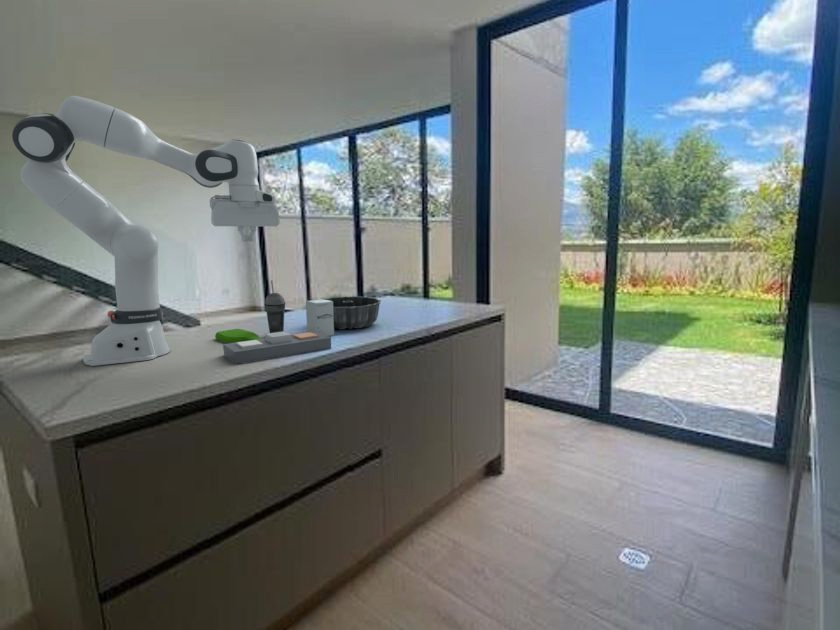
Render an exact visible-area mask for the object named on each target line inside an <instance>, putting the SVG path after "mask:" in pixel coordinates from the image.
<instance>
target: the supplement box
mask: <svg viewBox="0 0 840 630" xmlns="http://www.w3.org/2000/svg"><path fill="white" fill-rule="evenodd" d="M322 299H323V300H322ZM322 299H314V300H306V301H305V311H306V312H305V314H306V333H307V332H314V331H315V332H317V333H320V334H323V335H325V336H328V337H330V336H335V329H334V317H333V301H329V300H324V299H325V298H322Z"/></svg>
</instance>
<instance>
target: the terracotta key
mask: <svg viewBox="0 0 840 630" xmlns="http://www.w3.org/2000/svg"><path fill="white" fill-rule="evenodd" d="M300 333H301V332H300ZM300 333H293V334H294V335H293V334H292V335H293V337H294V338H296V339H299V340H304V339H311V338H318V335H316V334H314V333H311V332H308V333H307V332H302V333H301V334H300Z"/></svg>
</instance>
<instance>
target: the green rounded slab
mask: <svg viewBox="0 0 840 630" xmlns="http://www.w3.org/2000/svg"><path fill="white" fill-rule="evenodd" d="M214 338H215V340H216V341H218V342H220V343H222V344H228V343H235V342H243V341H250V340H257V339H262V338H261V337H260V336H259V335H258V334H257V333H255V332H253V331H249V330H247V329H242V328H234V329H228V330H221V331H220V330H219V331H217V332H216V333H215V337H214Z"/></svg>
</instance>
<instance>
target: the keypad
mask: <svg viewBox="0 0 840 630" xmlns="http://www.w3.org/2000/svg"><path fill="white" fill-rule="evenodd" d="M306 333H308V332H307V331H306ZM311 333H314V334H316V335H318V338H311V339H304V340H299V339H296V338H294V337H293V335H294V334H295V333H292V334H291V339H292V341H291V342H284V343H277V344H271V343H269V342H267V341H266V337H265V338H261V339H257V341H259V342H261V343H263V346H257V347H251V348H244V349H241V348H240V347H238V346H236V343H237V342H235V343H228V344H227V343H222V345H223V346H222V350H223V356H224V357H225V358H227V359H228V360H230V361H231V362H232V363H234V364H235V365H238V364H243V363H244V362H245V363H250V362H256V361H261V360H262V361H263V360H268V358H269V359H273V358H274V359H275V358H280V357H281V358H282V357H285V356H286V357H287V356H292V355H293V356H294V355H298V354H304V353H309V352H315V351H317V352H318V351H323V350H327V349H328V350H329V349H332V337H330V336H325V335H323V334H320V333H317V332H315V331H314V332H311ZM299 334H301V332H300V333H299ZM250 341H251V340H250ZM243 342H244V341H243ZM245 363H244V364H245Z"/></svg>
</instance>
